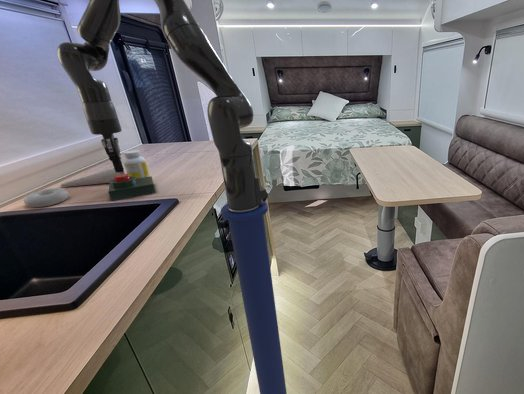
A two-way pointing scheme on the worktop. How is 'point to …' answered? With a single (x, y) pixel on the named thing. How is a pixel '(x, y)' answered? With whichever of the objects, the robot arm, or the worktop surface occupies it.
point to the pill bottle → (135, 164)
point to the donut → (46, 197)
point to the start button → (121, 177)
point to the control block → (131, 188)
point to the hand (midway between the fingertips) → (120, 171)
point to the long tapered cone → (94, 178)
